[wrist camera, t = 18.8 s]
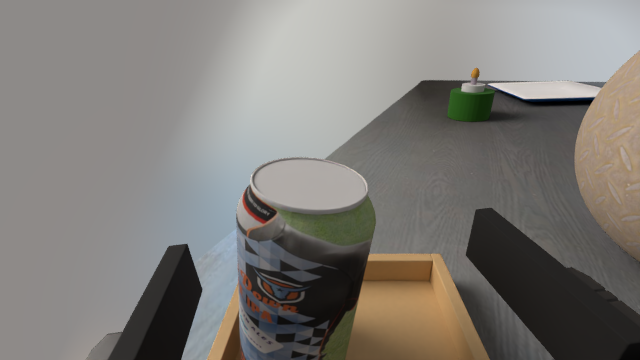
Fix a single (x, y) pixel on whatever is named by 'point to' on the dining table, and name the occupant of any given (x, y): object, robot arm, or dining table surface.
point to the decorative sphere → (613, 157)
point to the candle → (471, 101)
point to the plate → (549, 91)
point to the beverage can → (301, 258)
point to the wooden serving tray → (393, 315)
